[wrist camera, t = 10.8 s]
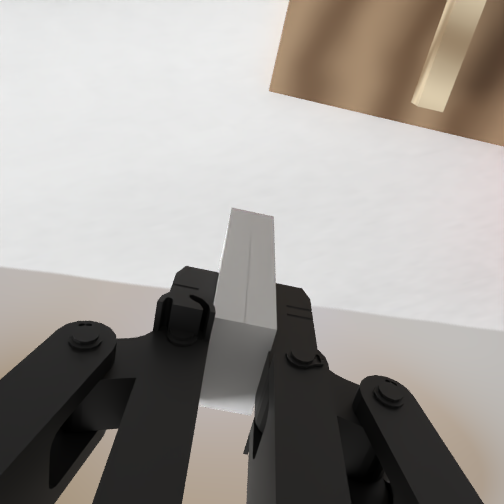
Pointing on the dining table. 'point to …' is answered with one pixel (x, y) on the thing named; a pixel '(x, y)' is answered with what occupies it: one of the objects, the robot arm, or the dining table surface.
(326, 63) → the stand
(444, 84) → the capstan
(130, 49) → the dining table surface
